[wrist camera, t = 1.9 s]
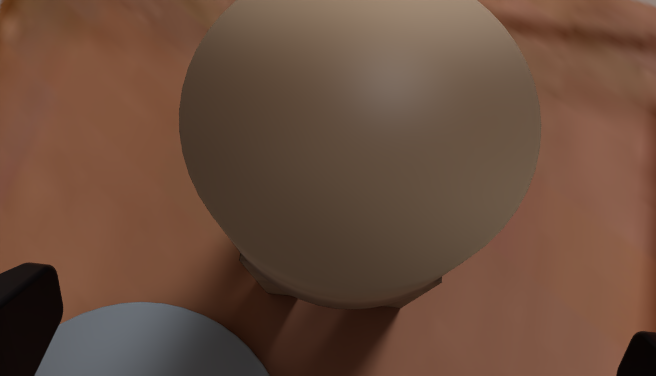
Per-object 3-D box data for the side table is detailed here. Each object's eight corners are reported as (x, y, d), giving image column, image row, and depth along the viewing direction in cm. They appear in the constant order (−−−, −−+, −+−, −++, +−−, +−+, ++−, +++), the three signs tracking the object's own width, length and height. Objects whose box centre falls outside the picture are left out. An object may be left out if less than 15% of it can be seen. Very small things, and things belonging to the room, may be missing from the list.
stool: (424, 335, 19) (543, 309, 9) (239, 314, 20) (144, 265, 9) (433, 161, 22) (538, -25, 11) (265, 144, 22) (213, -57, 11)
